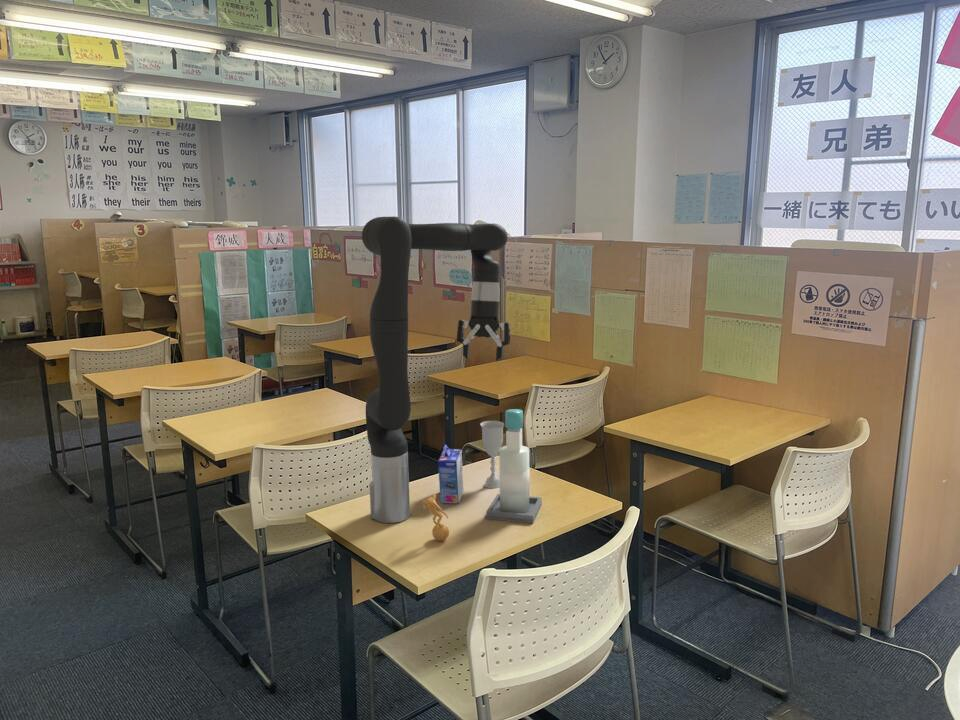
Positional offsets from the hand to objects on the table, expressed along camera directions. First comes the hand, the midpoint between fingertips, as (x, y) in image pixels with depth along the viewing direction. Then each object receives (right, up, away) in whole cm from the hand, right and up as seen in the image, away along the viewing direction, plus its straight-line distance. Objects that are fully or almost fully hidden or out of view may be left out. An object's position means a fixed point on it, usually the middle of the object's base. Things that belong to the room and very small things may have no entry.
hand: (482, 359), depth 188 cm
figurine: (-11, -43, -24) cm, 50 cm away
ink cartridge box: (-8, -38, +3) cm, 39 cm away
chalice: (+3, -36, +11) cm, 38 cm away
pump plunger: (+8, -23, -11) cm, 26 cm away
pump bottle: (+8, -39, -7) cm, 41 cm away
